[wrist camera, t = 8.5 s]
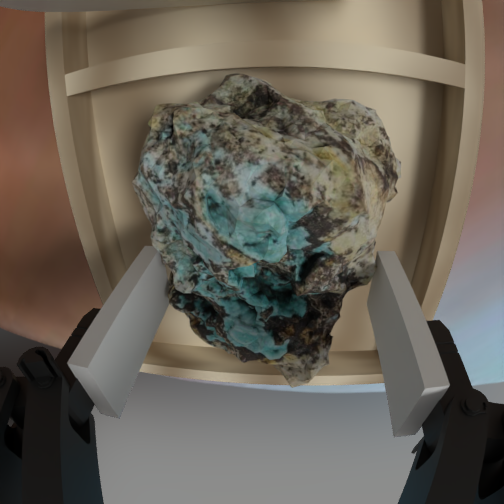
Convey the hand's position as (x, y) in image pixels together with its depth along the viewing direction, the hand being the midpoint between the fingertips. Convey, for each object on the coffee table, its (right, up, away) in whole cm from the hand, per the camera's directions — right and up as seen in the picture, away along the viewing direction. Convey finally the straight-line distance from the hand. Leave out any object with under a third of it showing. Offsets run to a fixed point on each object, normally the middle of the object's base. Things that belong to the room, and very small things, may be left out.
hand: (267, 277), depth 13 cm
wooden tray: (0, +5, +2) cm, 5 cm away
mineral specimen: (0, +3, +2) cm, 3 cm away
